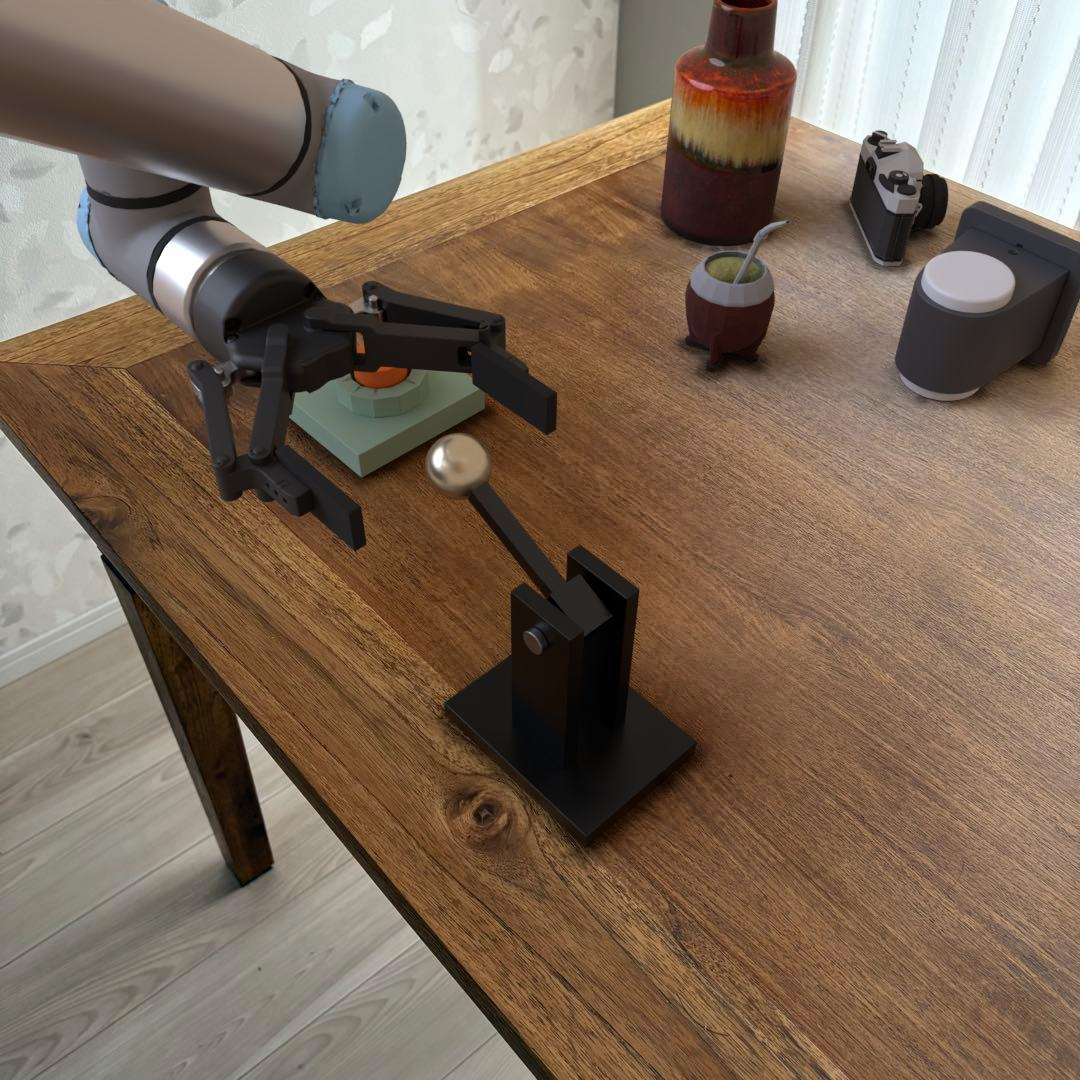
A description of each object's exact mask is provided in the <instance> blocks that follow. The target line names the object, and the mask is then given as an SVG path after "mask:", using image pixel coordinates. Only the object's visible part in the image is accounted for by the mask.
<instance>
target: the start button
mask: <svg viewBox="0 0 1080 1080" xmlns="http://www.w3.org/2000/svg"><path fill="white" fill-rule="evenodd" d="M357 353H365V348H364V343H362V344H360V345H359V346H357ZM354 376H355V379H356V381H357V382H358V383H359V384H360V385H361V386H363V387H367V388H372V389H384V388H391V387H394V386H396V385H398V384H399V383H401V382H403V381H404V380H405V378H406V376H407V369H406V368H393V367H380V368H379V369H378V370H377V371H376V372H360V371H354Z"/></svg>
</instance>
